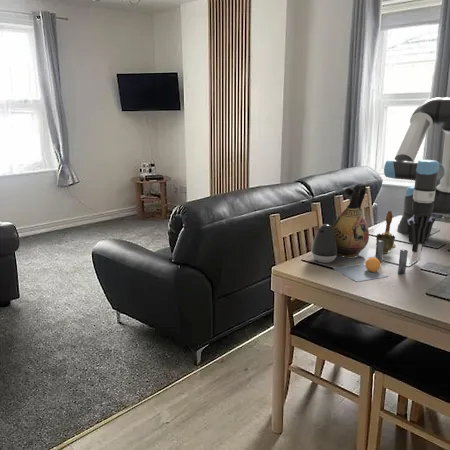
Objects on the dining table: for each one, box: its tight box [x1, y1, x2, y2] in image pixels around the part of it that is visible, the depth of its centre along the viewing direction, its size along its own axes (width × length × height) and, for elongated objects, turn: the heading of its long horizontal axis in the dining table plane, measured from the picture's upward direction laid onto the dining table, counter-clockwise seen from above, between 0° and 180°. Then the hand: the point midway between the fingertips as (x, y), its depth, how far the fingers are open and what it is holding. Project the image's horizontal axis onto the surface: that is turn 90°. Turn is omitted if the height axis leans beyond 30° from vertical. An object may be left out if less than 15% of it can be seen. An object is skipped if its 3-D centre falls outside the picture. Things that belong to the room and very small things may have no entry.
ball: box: [364, 256, 382, 272], centre depth 168 cm, size 6×6×6 cm
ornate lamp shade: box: [376, 232, 396, 256], centre depth 188 cm, size 8×7×8 cm
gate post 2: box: [397, 249, 409, 276], centre depth 165 cm, size 3×3×9 cm
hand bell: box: [375, 210, 396, 249], centre depth 198 cm, size 8×8×16 cm
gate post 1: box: [374, 240, 384, 264], centre depth 177 cm, size 3×3×9 cm
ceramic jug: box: [332, 183, 370, 258], centre depth 184 cm, size 17×15×30 cm
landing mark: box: [332, 263, 389, 283], centre depth 167 cm, size 14×14×1 cm
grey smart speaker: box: [311, 223, 338, 264], centre depth 177 cm, size 10×10×15 cm
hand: (415, 259), depth 177 cm, fingers closed
